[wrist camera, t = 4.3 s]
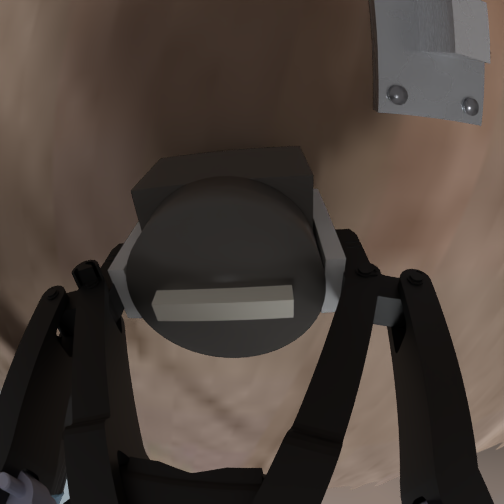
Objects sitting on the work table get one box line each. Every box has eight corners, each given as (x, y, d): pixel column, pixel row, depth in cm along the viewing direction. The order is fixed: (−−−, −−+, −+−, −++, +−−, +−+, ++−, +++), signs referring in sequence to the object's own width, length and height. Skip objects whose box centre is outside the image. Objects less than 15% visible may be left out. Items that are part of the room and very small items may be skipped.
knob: (183, 270, 20) (154, 369, 13) (156, 155, 16) (90, 226, 9) (303, 264, 19) (321, 367, 13) (303, 142, 15) (337, 207, 9)
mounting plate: (373, 109, 16) (405, 127, 12) (360, -61, 10) (386, -90, 5) (473, 122, 16) (517, 144, 12) (467, -31, 9) (510, -40, 5)
